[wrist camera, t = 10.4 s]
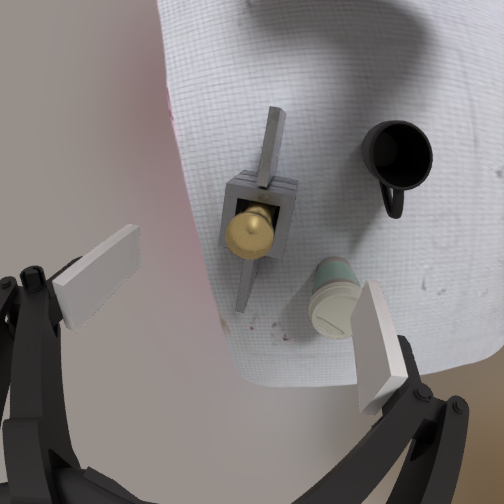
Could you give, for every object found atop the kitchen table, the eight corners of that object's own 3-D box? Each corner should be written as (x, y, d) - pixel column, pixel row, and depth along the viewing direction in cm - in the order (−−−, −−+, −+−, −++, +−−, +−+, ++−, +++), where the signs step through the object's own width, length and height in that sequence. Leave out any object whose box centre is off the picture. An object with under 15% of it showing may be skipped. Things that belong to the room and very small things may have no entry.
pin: (253, 180, 40) (228, 210, 27) (285, 186, 40) (277, 220, 26) (248, 210, 43) (222, 254, 29) (279, 217, 42) (268, 263, 29)
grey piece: (254, 108, 36) (238, 101, 27) (310, 118, 35) (312, 114, 26) (236, 219, 44) (218, 245, 35) (287, 230, 43) (281, 259, 34)
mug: (351, 199, 39) (364, 219, 30) (354, 118, 34) (370, 115, 25) (401, 203, 37) (424, 224, 29) (407, 125, 32) (434, 126, 24)
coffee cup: (300, 258, 44) (298, 301, 34) (351, 241, 42) (365, 281, 31) (317, 300, 47) (318, 348, 36) (364, 285, 44) (377, 331, 34)
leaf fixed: (244, 169, 40) (226, 182, 31) (297, 180, 39) (296, 196, 30) (229, 271, 48) (212, 305, 39) (275, 281, 47) (267, 318, 38)
